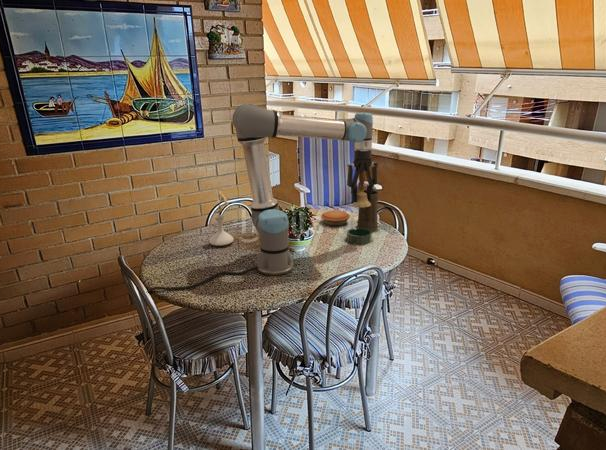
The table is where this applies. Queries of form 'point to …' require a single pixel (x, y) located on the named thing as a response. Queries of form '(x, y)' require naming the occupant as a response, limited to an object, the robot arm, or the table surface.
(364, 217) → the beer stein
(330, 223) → the pie
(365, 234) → the holder
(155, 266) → the table surface
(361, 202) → the hand bell
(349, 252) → the table surface
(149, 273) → the table surface
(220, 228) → the flower in vase
